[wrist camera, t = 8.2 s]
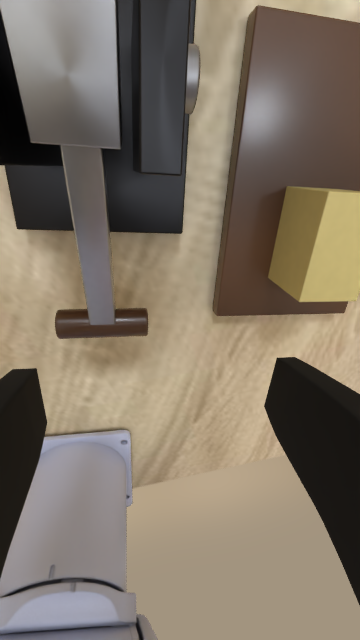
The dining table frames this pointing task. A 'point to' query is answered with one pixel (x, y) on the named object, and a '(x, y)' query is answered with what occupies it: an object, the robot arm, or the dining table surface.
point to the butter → (318, 245)
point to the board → (286, 147)
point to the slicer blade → (76, 134)
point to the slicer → (137, 129)
